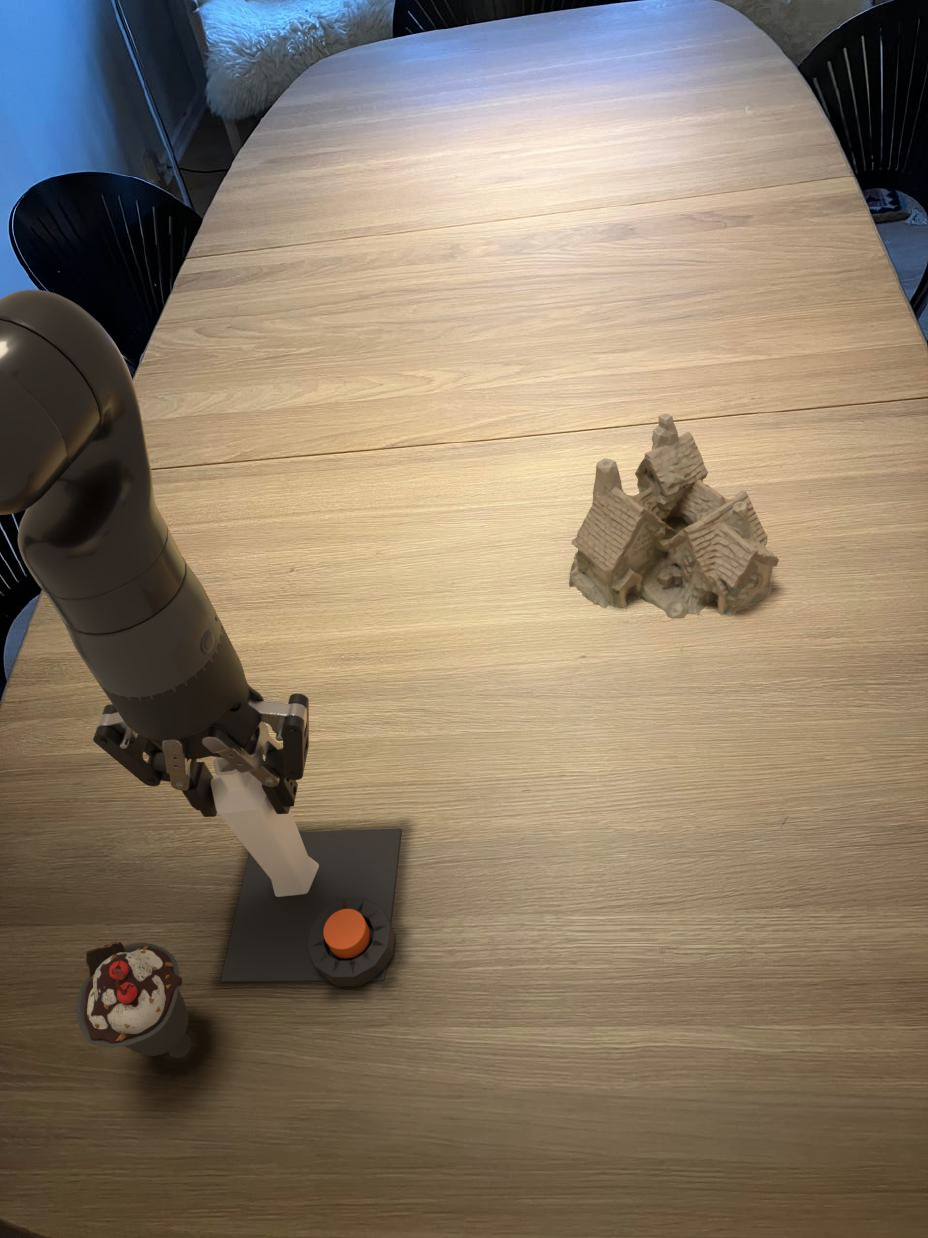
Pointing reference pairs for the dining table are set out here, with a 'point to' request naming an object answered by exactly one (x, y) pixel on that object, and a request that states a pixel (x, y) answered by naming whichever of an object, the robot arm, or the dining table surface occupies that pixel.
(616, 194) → the dining table surface
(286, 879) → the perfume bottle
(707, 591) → the ceramic cottage
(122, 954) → the sundae
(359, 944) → the button
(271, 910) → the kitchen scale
